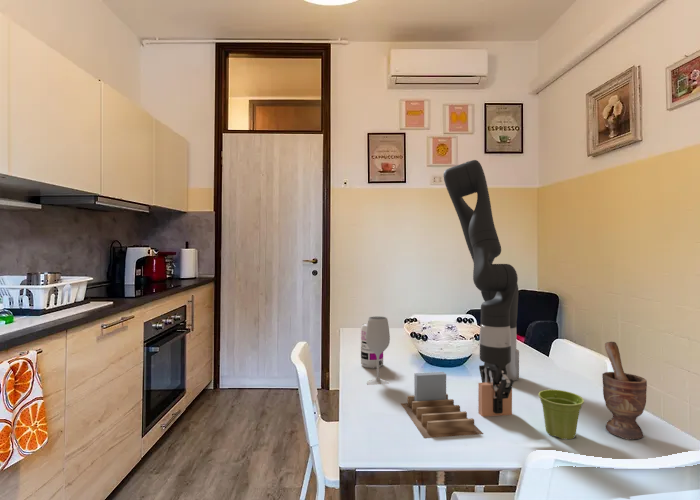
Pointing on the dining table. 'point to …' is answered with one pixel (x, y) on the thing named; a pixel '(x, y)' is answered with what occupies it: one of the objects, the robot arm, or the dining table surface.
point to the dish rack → (439, 418)
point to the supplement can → (368, 352)
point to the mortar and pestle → (623, 397)
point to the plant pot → (561, 412)
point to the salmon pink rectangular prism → (491, 401)
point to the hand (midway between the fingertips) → (495, 410)
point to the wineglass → (377, 341)
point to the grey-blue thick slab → (429, 386)
